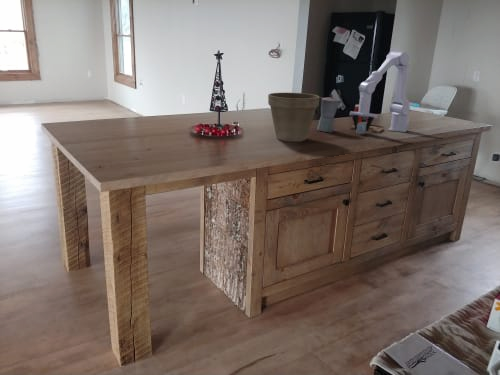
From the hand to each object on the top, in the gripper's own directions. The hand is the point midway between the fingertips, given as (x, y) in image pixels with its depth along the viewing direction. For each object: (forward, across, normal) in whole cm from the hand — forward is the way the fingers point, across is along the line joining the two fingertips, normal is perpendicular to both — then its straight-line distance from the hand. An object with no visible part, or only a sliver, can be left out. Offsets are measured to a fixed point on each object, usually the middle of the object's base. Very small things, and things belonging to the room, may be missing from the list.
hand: (361, 130), depth 245 cm
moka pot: (+2, -18, -7) cm, 20 cm away
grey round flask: (+2, 0, -2) cm, 2 cm away
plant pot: (+2, -26, -38) cm, 46 cm away
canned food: (+2, -8, +29) cm, 30 cm away
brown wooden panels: (+2, 0, +13) cm, 13 cm away
